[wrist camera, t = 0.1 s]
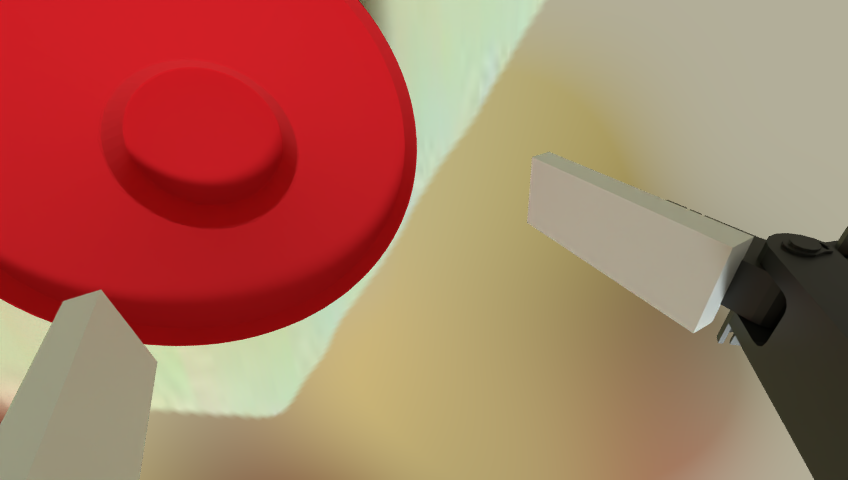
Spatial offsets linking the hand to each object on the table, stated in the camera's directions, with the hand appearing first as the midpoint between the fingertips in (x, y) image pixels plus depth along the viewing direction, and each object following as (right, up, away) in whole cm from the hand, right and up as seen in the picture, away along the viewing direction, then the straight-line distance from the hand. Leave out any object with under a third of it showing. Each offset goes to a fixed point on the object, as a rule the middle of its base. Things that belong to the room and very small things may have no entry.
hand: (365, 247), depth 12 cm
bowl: (-17, +9, +22) cm, 29 cm away
